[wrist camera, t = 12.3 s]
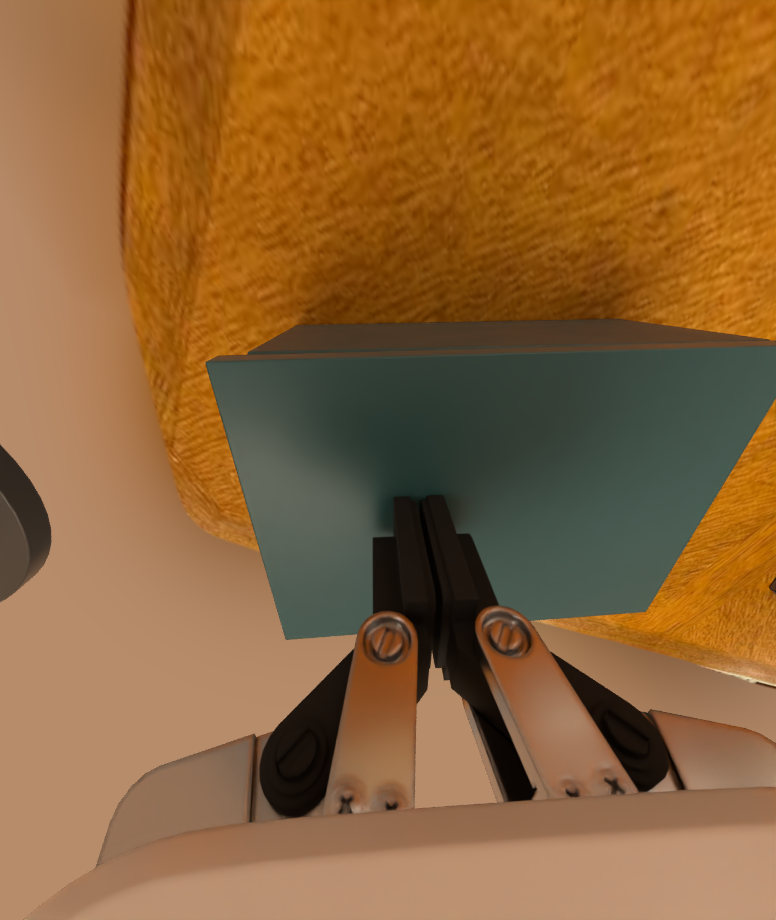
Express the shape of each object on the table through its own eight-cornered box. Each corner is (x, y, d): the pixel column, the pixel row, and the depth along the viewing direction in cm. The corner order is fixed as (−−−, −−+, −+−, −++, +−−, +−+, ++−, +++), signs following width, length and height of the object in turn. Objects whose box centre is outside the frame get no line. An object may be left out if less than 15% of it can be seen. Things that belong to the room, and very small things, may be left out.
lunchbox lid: (289, 622, 14) (285, 640, 13) (216, 355, 8) (203, 361, 8) (632, 597, 15) (646, 612, 14) (776, 340, 9) (810, 344, 9)
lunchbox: (323, 517, 20) (304, 613, 14) (296, 324, 15) (245, 351, 9) (558, 508, 21) (632, 596, 15) (618, 318, 15) (775, 339, 9)
